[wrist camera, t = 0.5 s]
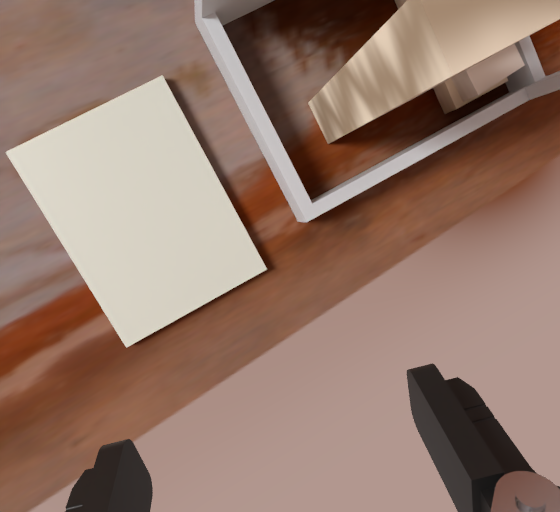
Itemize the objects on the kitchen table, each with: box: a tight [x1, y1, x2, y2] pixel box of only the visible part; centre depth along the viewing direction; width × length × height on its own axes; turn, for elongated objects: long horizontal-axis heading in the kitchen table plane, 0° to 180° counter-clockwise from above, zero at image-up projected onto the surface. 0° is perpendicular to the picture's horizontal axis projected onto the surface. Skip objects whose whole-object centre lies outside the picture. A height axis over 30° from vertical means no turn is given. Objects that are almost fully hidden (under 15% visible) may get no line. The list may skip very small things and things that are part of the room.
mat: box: [6, 75, 267, 348], centre depth 33 cm, size 16×12×1 cm
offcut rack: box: [195, 0, 560, 222], centre depth 29 cm, size 16×22×14 cm
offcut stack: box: [394, 0, 525, 114], centre depth 34 cm, size 12×5×6 cm, turn 28°
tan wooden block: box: [308, 0, 560, 144], centre depth 27 cm, size 4×6×18 cm, turn 118°
